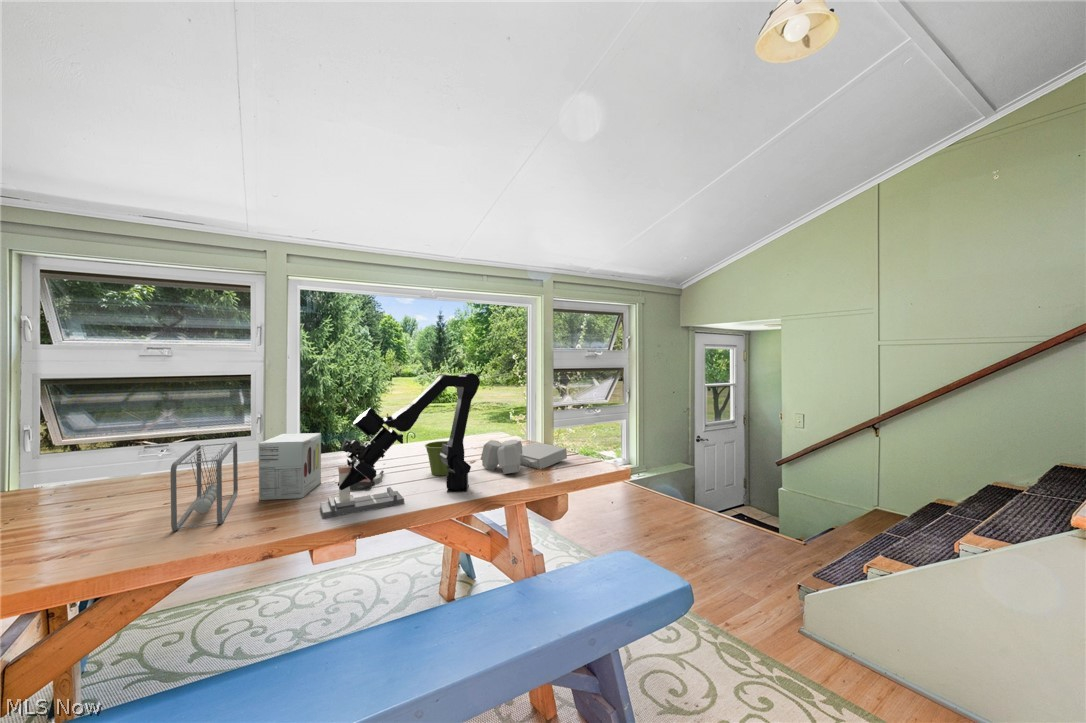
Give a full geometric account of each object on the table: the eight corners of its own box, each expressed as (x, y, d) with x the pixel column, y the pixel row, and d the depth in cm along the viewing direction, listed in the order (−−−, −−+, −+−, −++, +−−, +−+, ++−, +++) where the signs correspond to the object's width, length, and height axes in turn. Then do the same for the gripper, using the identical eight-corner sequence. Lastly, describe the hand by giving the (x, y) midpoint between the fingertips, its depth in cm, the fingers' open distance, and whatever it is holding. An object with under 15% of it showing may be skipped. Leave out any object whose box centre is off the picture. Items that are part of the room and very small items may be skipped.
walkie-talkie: (375, 491, 143) (385, 474, 163) (375, 478, 143) (385, 463, 163) (347, 492, 142) (361, 476, 161) (347, 479, 142) (361, 464, 161)
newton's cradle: (221, 526, 113) (221, 459, 113) (170, 534, 108) (169, 464, 108) (238, 494, 139) (237, 439, 139) (197, 499, 134) (196, 443, 134)
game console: (568, 458, 180) (565, 428, 179) (511, 483, 157) (508, 449, 156) (535, 451, 194) (532, 423, 193) (478, 472, 171) (475, 441, 170)
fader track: (397, 495, 138) (397, 486, 138) (404, 503, 130) (404, 493, 130) (320, 508, 126) (320, 498, 126) (323, 518, 119) (323, 507, 118)
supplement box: (303, 498, 135) (303, 441, 135) (257, 501, 133) (257, 443, 132) (322, 482, 152) (322, 432, 152) (282, 484, 150) (281, 433, 149)
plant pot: (432, 468, 170) (432, 440, 170) (460, 469, 169) (460, 441, 168) (419, 477, 159) (419, 446, 158) (450, 478, 157) (450, 447, 157)
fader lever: (352, 498, 129) (352, 463, 129) (355, 504, 124) (355, 467, 124) (334, 501, 127) (333, 465, 127) (336, 507, 122) (336, 470, 121)
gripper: (353, 424, 135) (314, 463, 130) (363, 433, 119) (319, 479, 114) (380, 446, 139) (343, 485, 134) (393, 458, 124) (352, 503, 118)
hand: (339, 487), depth 125 cm, fingers closed on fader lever, 3 cm apart
